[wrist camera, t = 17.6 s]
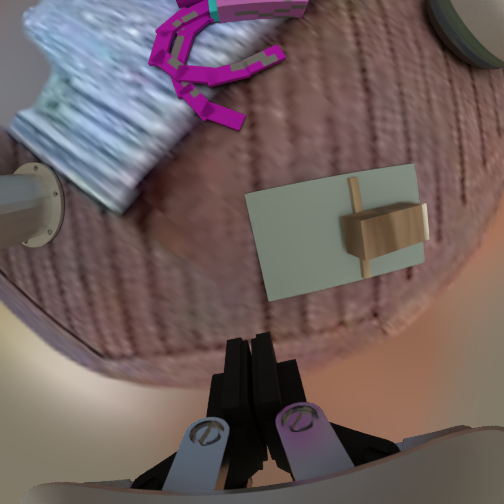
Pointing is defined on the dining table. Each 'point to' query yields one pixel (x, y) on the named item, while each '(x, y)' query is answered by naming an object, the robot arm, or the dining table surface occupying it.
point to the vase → (471, 29)
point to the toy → (186, 27)
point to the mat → (323, 230)
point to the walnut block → (385, 229)
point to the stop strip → (356, 208)
